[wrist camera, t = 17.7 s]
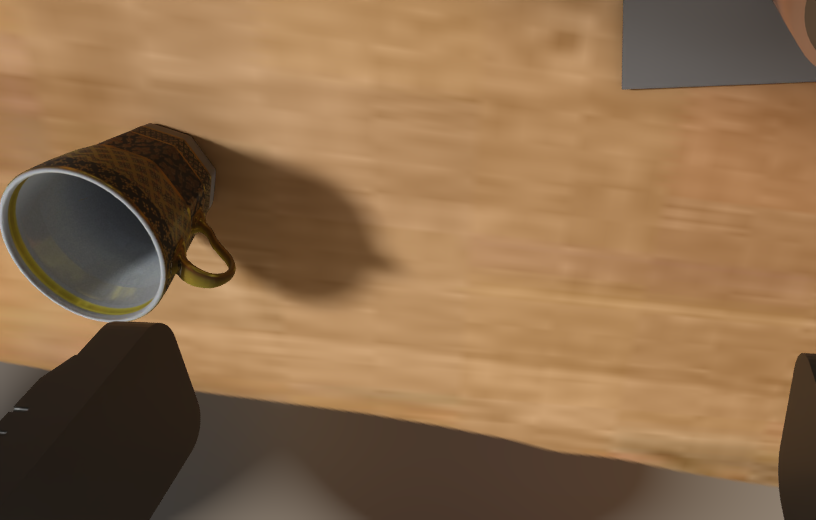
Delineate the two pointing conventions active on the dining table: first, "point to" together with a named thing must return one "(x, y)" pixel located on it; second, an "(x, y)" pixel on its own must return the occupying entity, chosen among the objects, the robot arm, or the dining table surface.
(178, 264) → the ceramic cup
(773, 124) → the dining table surface
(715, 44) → the charcoal mat
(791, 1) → the pink and brown cylinder
